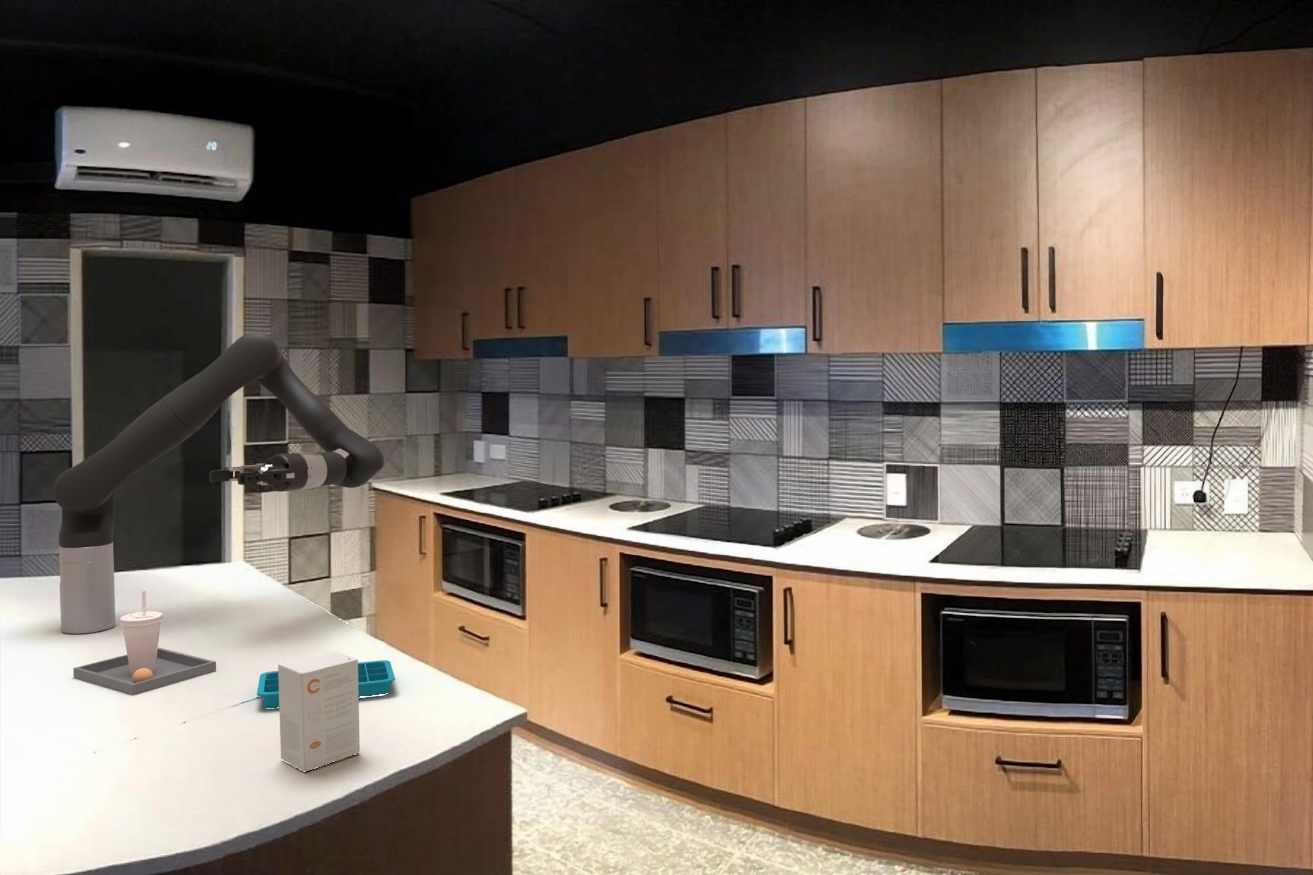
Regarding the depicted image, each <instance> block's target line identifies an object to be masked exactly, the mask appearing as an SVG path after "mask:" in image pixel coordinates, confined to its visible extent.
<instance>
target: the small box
mask: <svg viewBox="0 0 1313 875" xmlns="http://www.w3.org/2000/svg"><path fill="white" fill-rule="evenodd" d="M358 663H359V659H357V658H355V657H353V656H350V655H348V654H345V653H341V652H338V651H335V650H331V651H327V652H326V651H325V652H323V653H319V654H315V655H310V656H307V657H302V658H299V659H295V660H290V661H287V662H283V663H278V665H277V668H278V669H277V671H278V676H279V709H278V710H279V734H280V735H279V736H280V737H279V738H280V743H279V744H280V760H281V759H283V760H284V761H286V762H288V763H290V764H291V765H293V766H295V767H297V768H298V769H301V770H302V771H309V770H311V769H314V768H316V767H320V766H322V765H326V764H328V763H331V762H333V761H337V762H339V761H338V760H340V759H343V758H346V757H349V756H351V755H354V754H358V753H359V752H361V750H360V748H361V747H360V703H359V702H360V699H359V695H358ZM358 755H359V754H358ZM349 758H350V757H349ZM346 759H347V758H346ZM343 760H344V759H343ZM340 761H341V760H340ZM326 766H327V765H326ZM320 768H321V767H320ZM309 772H310V771H309Z"/></svg>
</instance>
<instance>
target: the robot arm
mask: <svg viewBox="0 0 1313 875" xmlns="http://www.w3.org/2000/svg"><path fill="white" fill-rule="evenodd" d="M252 381H256V382H257V383H258V384H259V385H260V386H262V387H263V388H264V389H266V390H267V391H268V392H270V393H271V394H272V395H273V396H274V397H275V398H276V399H277V400H278V401H279V402H280V403H281V404H282V405H283V406H284V408H285V409H287V411H288V412H289V414H291V416H292V417H293V418H294V419H295V421H296V422H297V424H298V425H300V427H301V428H302V429H303V431H305V432H306V433H307V435H309V437H310V438H311V439H312V440H313V441H314V442H315V443H316V444H317V445H318V446H319V447H320V448H321V449H322V450H323V451H322V452H321V451H318V452H309V451H305V452H304V451H303V452H291V453H290V452H288V453H287V452H286V453H278V454H277V453H276V454H274V455H273V456H271V458H270V459H269V460H268V463H256V464H253V465H251V464H249V465H248V464H247V465H240V466H232V467H231V466H230V467H229V466H225V467H223V469H218V470H217V469H215V470H210V471H209V472H208V475H209V476H208V479H209V480H208V481H209V482H210V483H218V482H219V483H221V482H222V483H223V482H228V483H232V482H237V484H238V485H241V486H243V485H254V484H256V485H261V486H270V487H271V488H272V489H273V490H275V491H277V492H282V493H283V492H289V491H290V492H292V491H299V490H308V489H313V488H316V487H317V488H318V487H324V486H325V487H326V486H332V485H333V486H336V487H341V488H342V487H343V488H348V489H354V488H358V487H359V488H360V487H361V486H363V485H365V484H366V483H367V482H369V481H370V480H371V479H372V478H373V477H374V476H375V475H377V474H378V472H380V471H381V470H382V469H383V467H384V465H385V459H384V455H383V452H382V451H381V449H380V448H379V447H378V446H377V445H376V444H374V443H373V441H372V442H371V441H370V440H368V439H367V438H365V437H364V436H362V435H360V434H359V433H357V432H356V431H354V430H352V429H351V428H349V427H348V426H347V424H345V423H344V422H343V421H342V420H341V418H340V417H338V415H337V414H336V412H334V411H333V410H332V409H331V408H330V407H329V406H328V405H327V404H326V403H325V402H324V401H323V400H321V399H320V398H319V397H318V396H317V395H316V394H315V393H314V392H313V391H312V390H310V389H309V387H307V386H306V384H305V383H304V382H302V380H301V379H300V378H299V376H298V375H297V374H296V373H295V371H293V369H292V368H291V366H290V365H289V362H287V361H286V358H285V357H284V356H283V353H282V351H281V349H280V347H279V346H278V344H277V343H276V342H275V340H274V339H273V338H271V337H270V336H269V335H267V334H265V333H261V332H250V333H246V334H244V335H241V336H240V337H238V339H236V340H235V341H234V342H233V343H232V344H231V345H230V346H229V347H228V348H227V349H226V350H224V351H223V353H222V354H220V355H219V356H218V357H217V358H216V359H215V360H214V361H213V362H212V363H210V364H209V365H207V367H205V368H204V369H203V370H201V371H200V372H199V373H197V374H196V375H194V376H193V377H191V378H189V379H188V380H187V381H184V382H183V383H182V384H181V385H179V386H177V387H176V388H175V389H174V390H173V389H172V391H171V392H169V393H168V394H166V395H164V396H163V397H162V398H161V399H159V400H158V401H156V402H155V403H154V404H153V405H152V406H150V407H149V408H148V409H146V410H145V411H144V412H142V413H141V414H140V415H139V416H138V417H137V418H136V419H134V420H133V421H132V422H131V423H130V424H128V425H127V426H126V427H125V429H123V430H122V431H121V432H120V433H119V434H118V435H117V436H116V437H115V438H114V439H112V440H111V441H110V442H109V443H108V444H106V446H103V447H102V448H101V449H99V450H98V451H96V452H95V453H93V454H91V455H90V456H89V457H87V458H86V459H84V460H82V461H80V462H79V463H77V464H76V465H74V466H72V467H70V468H67V469H66V470H65V471H63V472H61V474H60V475H59V476H58V477H57V479H56V481H55V483H54V486H53V497H54V500H55V503H56V504H57V505H58V506H60V508H61V525H60V530H59V532H58V550H59V551H58V552H59V578H60V579H59V580H60V582H59V602H60V606H59V607H60V628H61V632H62V633H65V634H74V635H75V634H88V633H89V634H90V633H95V632H96V633H97V632H101V631H106V630H108V629H109V630H110V629H111V628H114V627H115V626H116V596H115V592H116V590H115V589H116V588H115V564H114V563H115V562H114V561H115V560H114V559H115V558H114V528H115V521H116V520H115V517H116V516H115V513H116V512H115V490H117V488H119V487H120V485H122V483H124V482H125V481H126V480H128V479H129V478H130V477H131V476H132V475H133V474H135V473H136V472H138V471H139V470H141V469H142V468H143V467H144V468H145V466H147V465H148V464H151V463H152V462H154V461H156V460H158V459H159V458H161V457H163V456H164V455H165V454H167V453H169V452H170V451H172V450H174V449H175V448H177V447H178V446H180V445H181V444H182V443H183V442H184V441H186V440H187V439H189V438H190V437H191V436H192V435H194V434H196V432H197V431H199V430H200V429H201V428H203V426H204V425H205V424H206V423H207V422H208V421H209V420H210V419H211V418H212V417H213V416H214V414H215V413H216V412H217V411H218V410H219V409H220V407H221V406H222V405H223V404H224V403H225V402H226V400H228V399H229V398H230V397H231V396H232V395H234V393H236V392H237V391H238V390H240V389H242V388H243V387H245V386H246V385H247V384H250V383H251V382H252ZM337 450H342V451H345V452H346V453H347V455H346V456H345V457H344V456H343V455H342V454H340V453H339V452H336V451H337Z"/></svg>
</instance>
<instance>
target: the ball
mask: <svg viewBox="0 0 1313 875" xmlns="http://www.w3.org/2000/svg"><path fill="white" fill-rule="evenodd" d="M152 678H153V673H152V671H151V670H149V669H147V668H141V669H138V670H137V671H135V673H134V674H133V676H132V682H133V683H138V682H141V681H145V680H148V679H152Z"/></svg>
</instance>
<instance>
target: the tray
mask: <svg viewBox="0 0 1313 875" xmlns="http://www.w3.org/2000/svg"><path fill="white" fill-rule="evenodd" d="M72 670H73V672H72V674H73V679H77V680H80V681H83V682H87V683H90V684H93V685H97V686H100V687H104V688H107V689H111V690H113V691H118V692H120V693H124V694H127V695H130V696H135V695H139V694H142V693H146V692H149V691H152V690H153V691H154V690H157V689H159V688H163V687H166V686H170V685H174V684H178V683H179V682H184V681H187V680H190V679H193V678H194V679H195V678H196V677H200V676H205V675H209V674H211V673H214V672H216V671H217V661H215V660H212V659H207V658H203V657H199V656H194V655H191V654H186V653H183V652H178V651H175V650H171V649H166V648H163V647H158V651H157V660H156V669H155V671H154V672H153V678H152V679H148V680H145V681H141V682H138V683H133V682H132V676H133V675H131V674H130V668H129V662H128V656H127V654H123V655H120V656H116V657H112V658H108V659H104V660H103V659H102V660H100V661H96V662H92V663H87V664H84V665H80V666H76V667H73V668H72Z"/></svg>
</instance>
